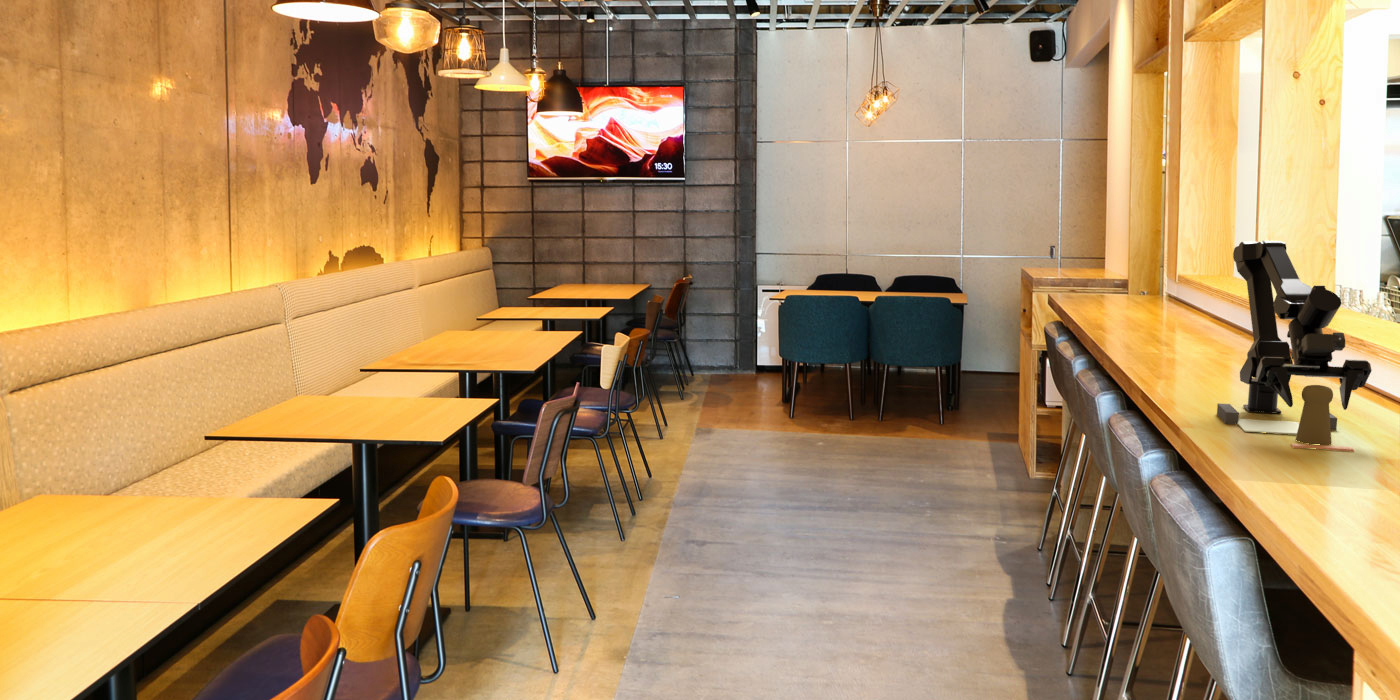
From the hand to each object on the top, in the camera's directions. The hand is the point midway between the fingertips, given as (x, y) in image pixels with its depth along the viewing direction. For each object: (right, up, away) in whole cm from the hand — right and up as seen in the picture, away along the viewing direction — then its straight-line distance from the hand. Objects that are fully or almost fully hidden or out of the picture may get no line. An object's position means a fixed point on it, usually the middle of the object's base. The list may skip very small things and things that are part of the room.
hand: (1318, 407), depth 196 cm
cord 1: (-6, -4, +23) cm, 24 cm away
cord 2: (+11, -5, +17) cm, 21 cm away
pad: (-1, -5, +14) cm, 15 cm away
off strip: (-1, -8, -4) cm, 8 cm away
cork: (0, -7, +2) cm, 7 cm away
